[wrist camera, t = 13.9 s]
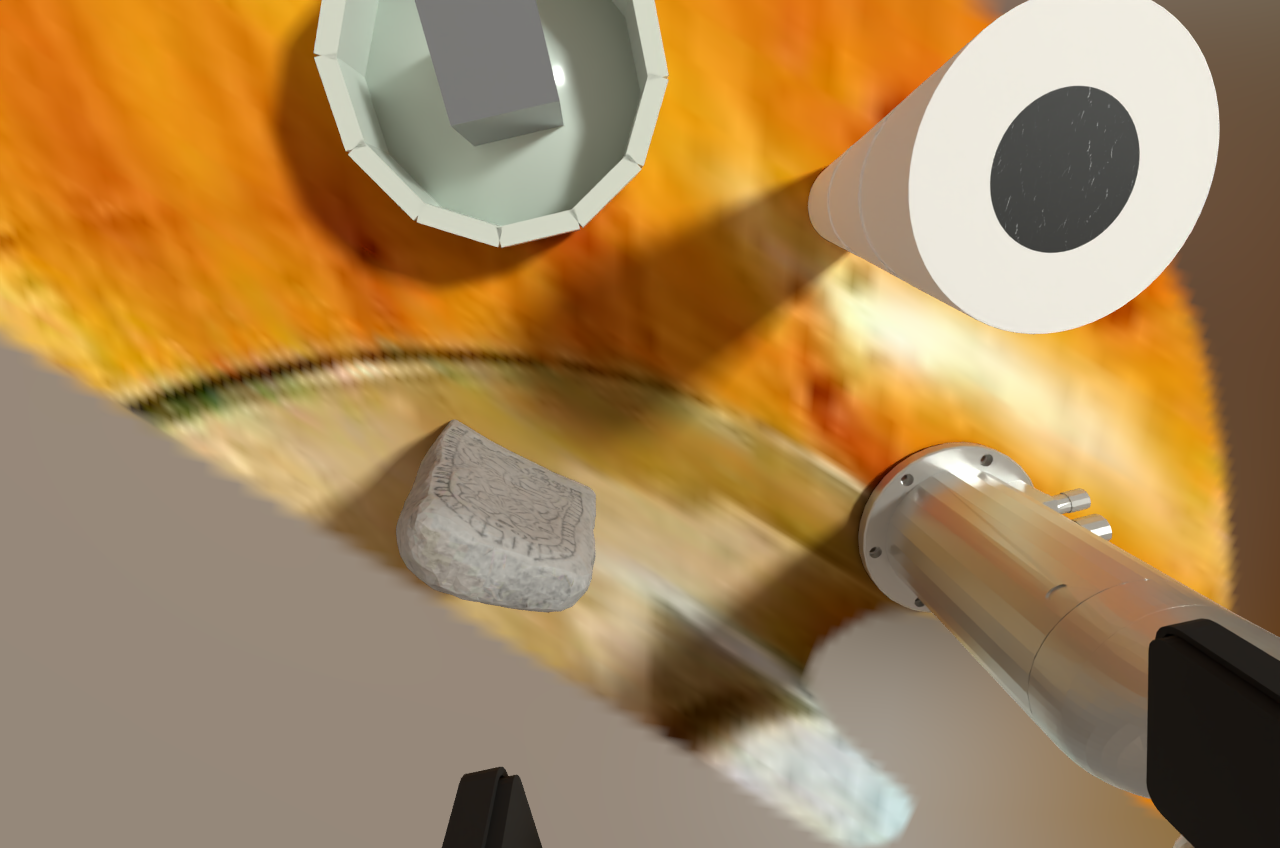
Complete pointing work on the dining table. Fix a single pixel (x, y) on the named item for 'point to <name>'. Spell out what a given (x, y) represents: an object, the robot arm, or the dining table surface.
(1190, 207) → the cup
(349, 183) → the dining table surface
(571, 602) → the decorative stone
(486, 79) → the matte grey cube
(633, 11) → the bowl
